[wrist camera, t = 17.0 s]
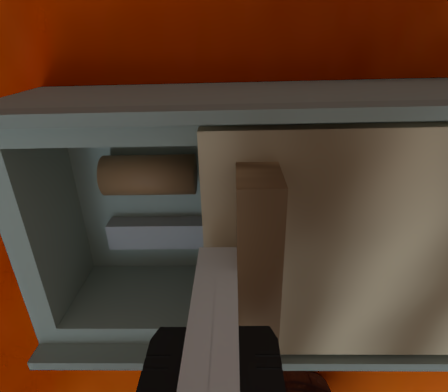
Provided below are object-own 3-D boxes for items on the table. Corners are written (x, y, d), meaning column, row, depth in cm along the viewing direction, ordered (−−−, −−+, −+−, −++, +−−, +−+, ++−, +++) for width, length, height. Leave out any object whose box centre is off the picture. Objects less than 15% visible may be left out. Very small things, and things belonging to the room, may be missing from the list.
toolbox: (86, 275, 24) (29, 369, 18) (41, 86, 19) (-68, 116, 12) (399, 274, 24) (466, 371, 17) (446, 77, 18) (574, 103, 11)
